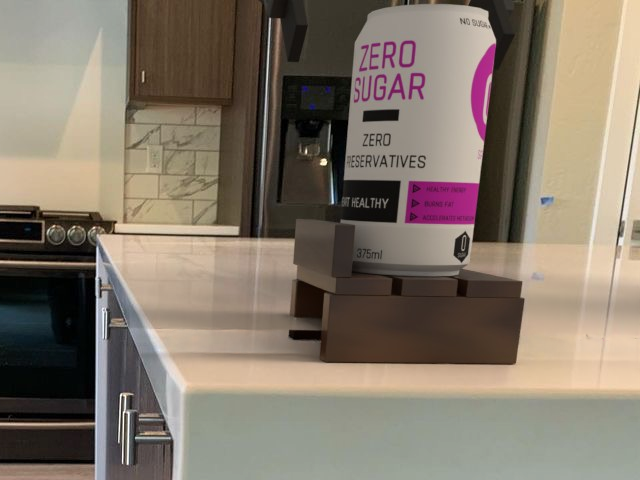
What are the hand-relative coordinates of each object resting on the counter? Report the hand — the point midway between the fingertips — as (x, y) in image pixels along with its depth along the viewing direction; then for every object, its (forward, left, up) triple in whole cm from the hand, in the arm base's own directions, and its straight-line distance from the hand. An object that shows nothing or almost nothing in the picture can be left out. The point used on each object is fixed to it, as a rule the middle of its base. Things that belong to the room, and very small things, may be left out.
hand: (400, 48), depth 61 cm
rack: (0, +5, -19) cm, 19 cm away
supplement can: (0, +5, -14) cm, 15 cm away
